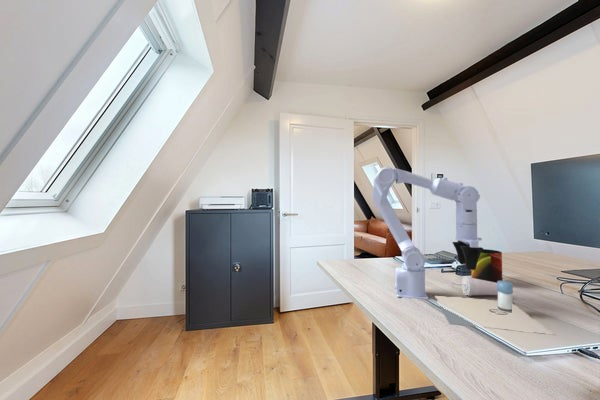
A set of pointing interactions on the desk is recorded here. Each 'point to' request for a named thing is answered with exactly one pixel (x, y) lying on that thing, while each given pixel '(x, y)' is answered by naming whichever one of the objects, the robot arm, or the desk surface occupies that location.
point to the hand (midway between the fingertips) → (467, 266)
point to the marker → (505, 296)
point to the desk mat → (455, 318)
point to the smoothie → (477, 286)
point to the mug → (488, 266)
